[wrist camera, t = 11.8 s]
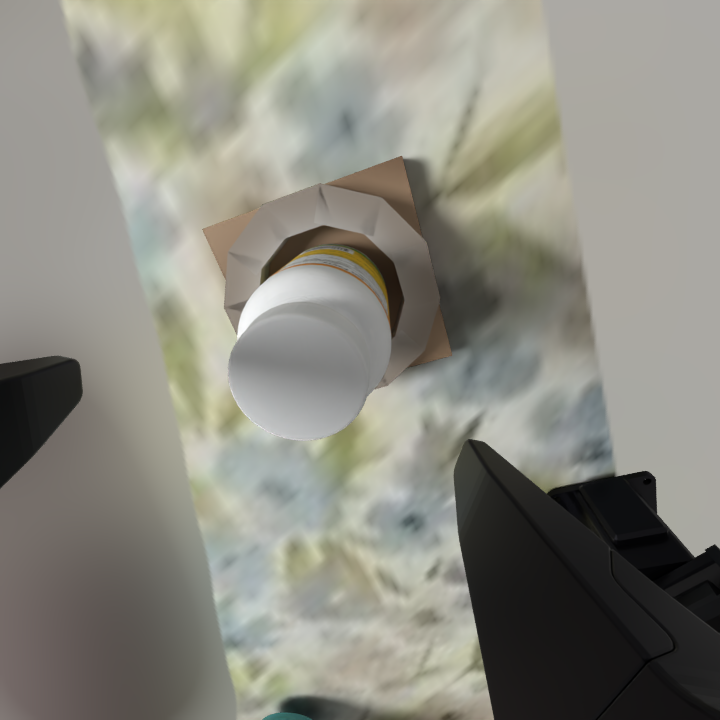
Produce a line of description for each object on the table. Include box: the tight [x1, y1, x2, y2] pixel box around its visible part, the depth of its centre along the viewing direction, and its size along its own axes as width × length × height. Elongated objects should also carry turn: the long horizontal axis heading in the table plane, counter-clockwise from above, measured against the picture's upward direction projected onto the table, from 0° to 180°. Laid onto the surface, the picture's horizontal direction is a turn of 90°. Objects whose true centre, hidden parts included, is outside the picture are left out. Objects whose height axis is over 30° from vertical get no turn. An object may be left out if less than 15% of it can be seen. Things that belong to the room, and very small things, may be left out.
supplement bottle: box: [228, 244, 391, 441], centre depth 15 cm, size 5×5×10 cm
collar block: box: [202, 156, 452, 389], centre depth 19 cm, size 10×10×3 cm
